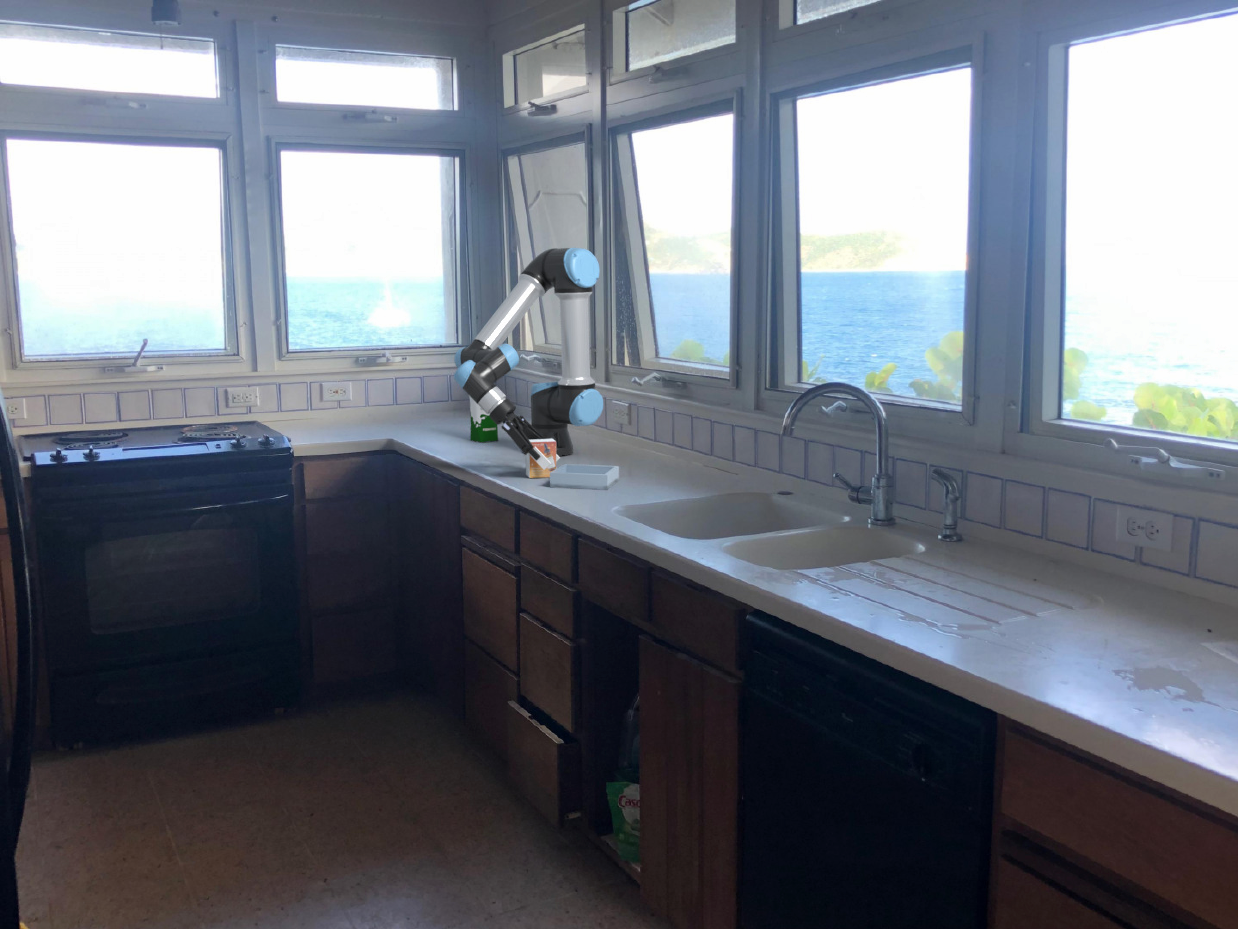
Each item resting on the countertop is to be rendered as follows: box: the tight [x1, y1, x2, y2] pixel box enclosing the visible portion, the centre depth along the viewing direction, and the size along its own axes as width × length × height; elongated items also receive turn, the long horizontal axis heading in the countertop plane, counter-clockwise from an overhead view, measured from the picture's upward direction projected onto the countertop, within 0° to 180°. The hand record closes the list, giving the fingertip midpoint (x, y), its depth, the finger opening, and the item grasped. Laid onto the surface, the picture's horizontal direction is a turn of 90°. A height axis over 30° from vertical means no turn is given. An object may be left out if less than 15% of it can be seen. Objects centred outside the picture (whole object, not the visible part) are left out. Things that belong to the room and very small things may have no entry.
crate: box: [549, 463, 620, 491], centre depth 298 cm, size 14×16×4 cm
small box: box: [525, 439, 557, 479], centre depth 308 cm, size 8×6×10 cm
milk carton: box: [468, 395, 499, 443], centre depth 373 cm, size 9×9×20 cm
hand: (552, 463), depth 308 cm, fingers closed on small box, 8 cm apart
